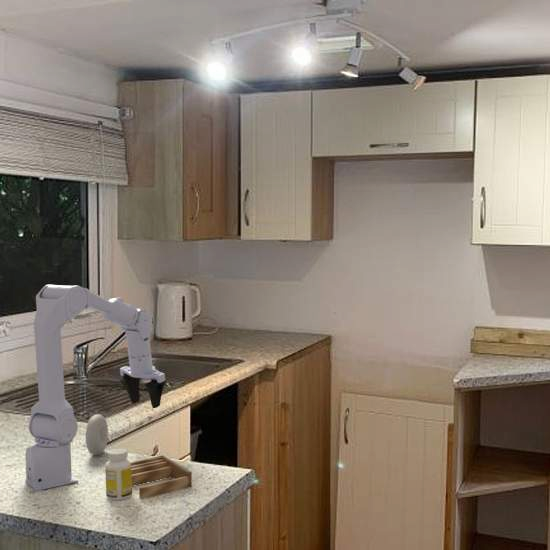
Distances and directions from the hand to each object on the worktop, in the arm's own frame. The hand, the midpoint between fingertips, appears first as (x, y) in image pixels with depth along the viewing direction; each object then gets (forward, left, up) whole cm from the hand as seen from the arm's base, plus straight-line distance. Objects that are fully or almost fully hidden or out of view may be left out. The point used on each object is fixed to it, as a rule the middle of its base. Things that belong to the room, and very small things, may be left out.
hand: (145, 404), depth 194 cm
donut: (-14, 0, -11) cm, 17 cm away
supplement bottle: (-21, -30, -11) cm, 38 cm away
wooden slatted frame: (-12, -27, -11) cm, 31 cm away
